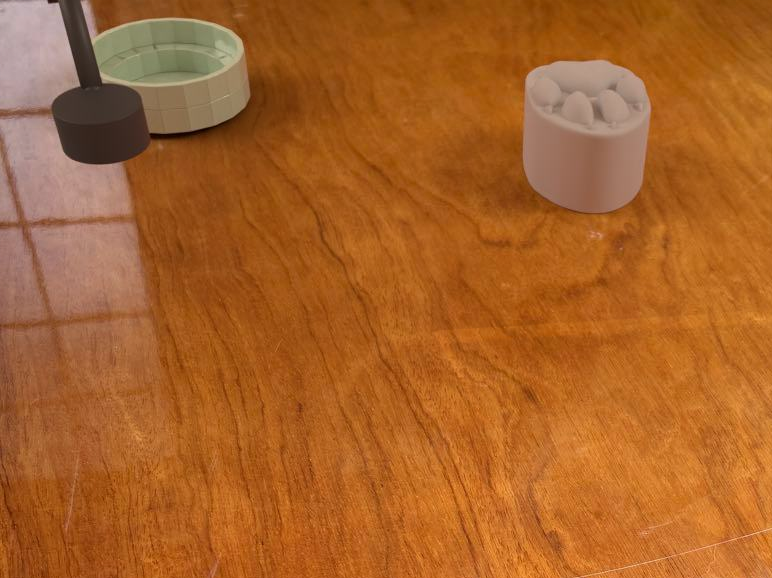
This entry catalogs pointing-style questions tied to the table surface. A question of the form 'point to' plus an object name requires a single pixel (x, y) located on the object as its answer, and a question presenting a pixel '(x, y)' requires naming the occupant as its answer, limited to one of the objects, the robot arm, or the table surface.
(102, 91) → the ladle
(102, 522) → the table surface
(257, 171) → the table surface
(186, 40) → the bowl
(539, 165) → the lumpy-topped squat cylinder
